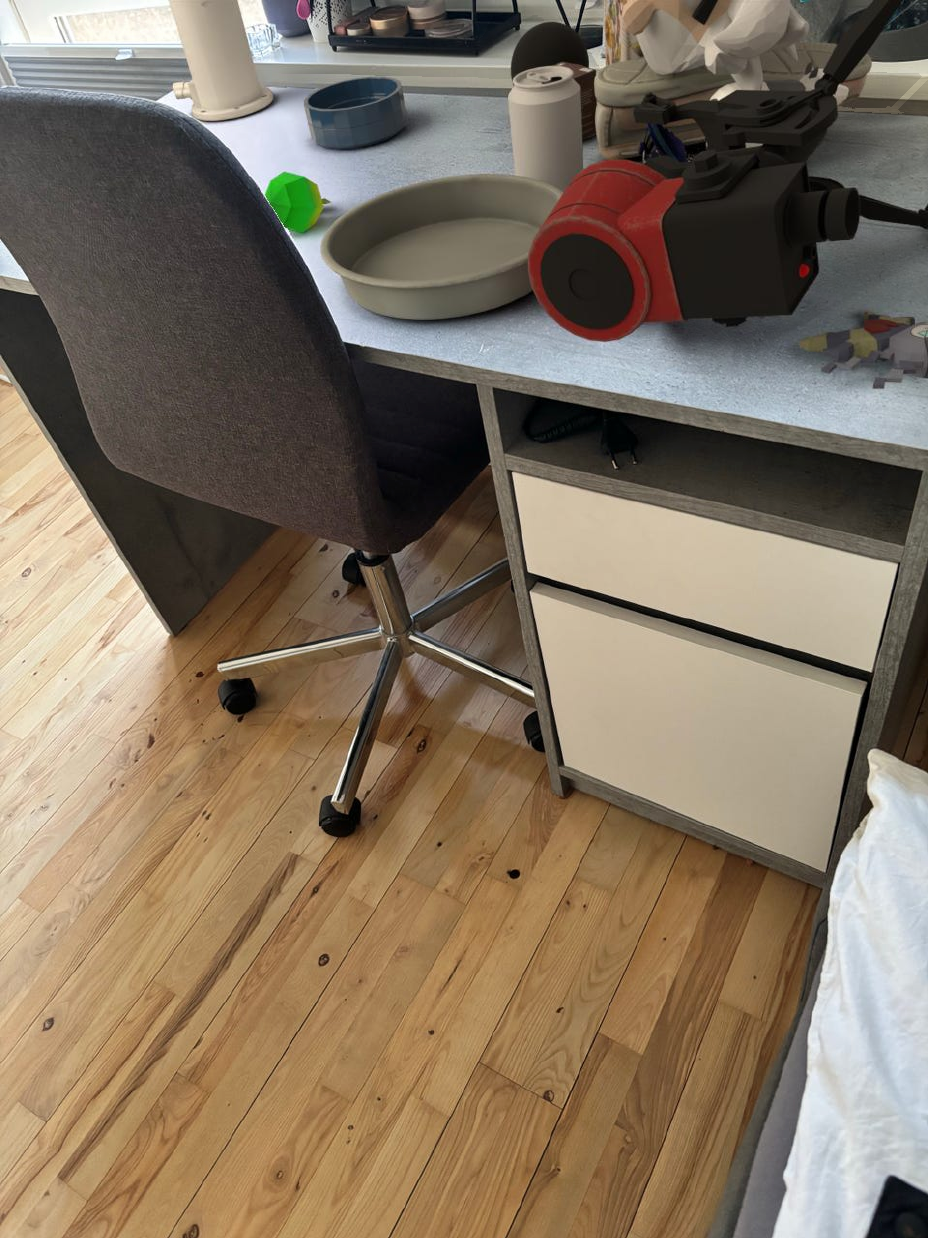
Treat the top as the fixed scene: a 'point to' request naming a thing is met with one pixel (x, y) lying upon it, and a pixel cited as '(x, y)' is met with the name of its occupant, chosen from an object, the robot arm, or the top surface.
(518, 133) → the can
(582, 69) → the box
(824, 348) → the toy
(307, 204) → the apple
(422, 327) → the top surface
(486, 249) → the cake pan
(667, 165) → the camera
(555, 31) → the decorative ball
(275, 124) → the top surface
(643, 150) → the spaceship
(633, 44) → the decorative jar
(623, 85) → the loafer
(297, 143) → the top surface
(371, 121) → the bowl
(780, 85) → the giant panda
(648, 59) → the toy
